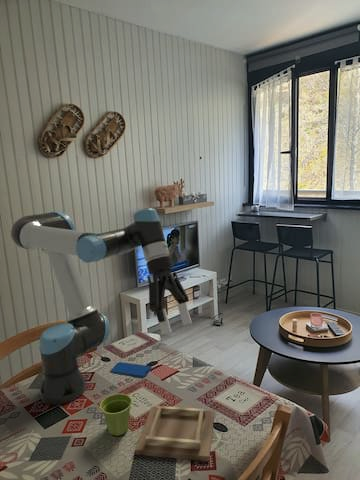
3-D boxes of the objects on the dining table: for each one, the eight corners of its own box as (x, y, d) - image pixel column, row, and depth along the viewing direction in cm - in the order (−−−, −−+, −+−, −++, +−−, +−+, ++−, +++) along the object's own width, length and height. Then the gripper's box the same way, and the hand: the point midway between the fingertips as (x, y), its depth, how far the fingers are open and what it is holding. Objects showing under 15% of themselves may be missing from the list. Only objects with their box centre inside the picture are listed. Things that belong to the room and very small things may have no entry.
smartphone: (118, 361, 144) (152, 366, 139) (118, 364, 145) (152, 368, 139) (109, 371, 138) (144, 376, 132) (109, 373, 138) (144, 378, 133)
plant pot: (106, 444, 100) (103, 417, 99) (99, 424, 109) (97, 398, 107) (138, 434, 104) (136, 407, 102) (129, 414, 113) (127, 390, 111)
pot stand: (135, 454, 96) (134, 443, 96) (151, 411, 114) (151, 401, 113) (209, 461, 93) (208, 449, 92) (214, 415, 110) (214, 405, 110)
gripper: (146, 255, 94) (168, 334, 91) (186, 254, 117) (205, 318, 113) (124, 263, 97) (144, 340, 94) (166, 261, 120) (184, 323, 116)
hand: (177, 328), depth 103 cm, fingers open, 13 cm apart
